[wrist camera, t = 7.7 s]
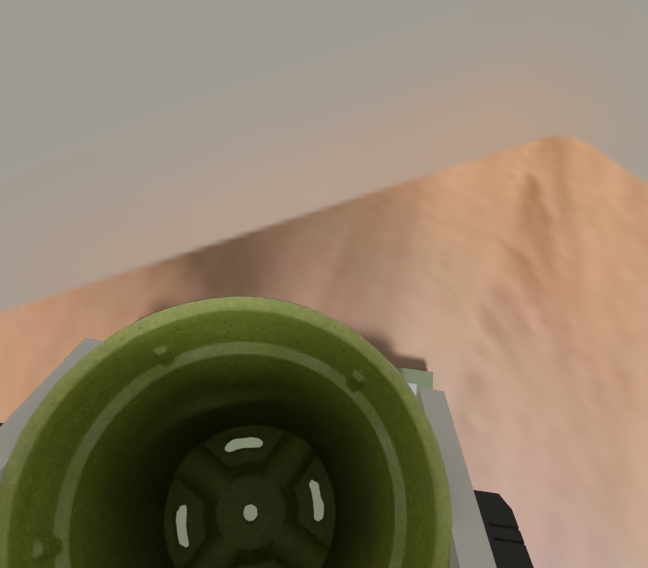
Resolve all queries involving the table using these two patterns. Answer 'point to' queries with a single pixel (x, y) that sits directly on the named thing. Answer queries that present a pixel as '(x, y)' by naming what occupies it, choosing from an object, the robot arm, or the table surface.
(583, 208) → the table surface
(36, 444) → the plant pot
